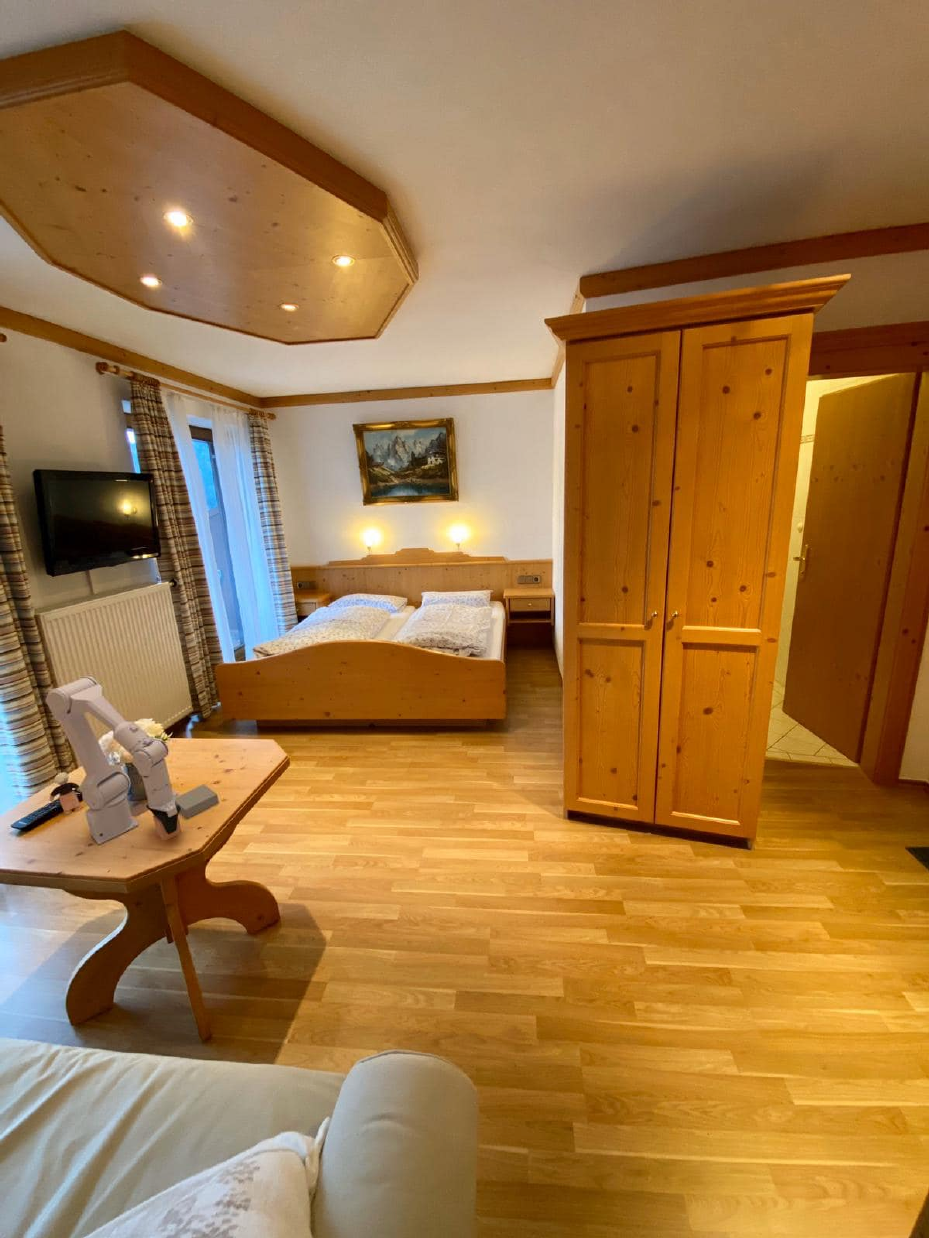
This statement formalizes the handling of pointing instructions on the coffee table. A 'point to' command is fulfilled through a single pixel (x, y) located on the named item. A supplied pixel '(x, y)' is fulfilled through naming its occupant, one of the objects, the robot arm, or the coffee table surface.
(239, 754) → the coffee table surface
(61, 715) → the robot arm
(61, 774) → the grandmother figurine
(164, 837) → the terracotta block
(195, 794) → the gray block
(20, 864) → the coffee table surface
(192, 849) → the coffee table surface
